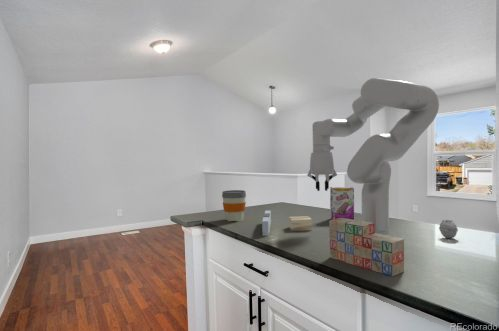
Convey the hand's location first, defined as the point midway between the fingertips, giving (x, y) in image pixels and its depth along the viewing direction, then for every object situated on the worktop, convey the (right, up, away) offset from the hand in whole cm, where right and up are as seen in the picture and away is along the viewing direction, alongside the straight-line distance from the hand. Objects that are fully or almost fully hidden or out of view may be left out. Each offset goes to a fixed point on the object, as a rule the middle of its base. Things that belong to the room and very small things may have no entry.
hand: (322, 190), depth 140 cm
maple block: (-9, -18, +2) cm, 20 cm away
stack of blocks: (+2, -19, -46) cm, 50 cm away
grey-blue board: (-24, -18, +3) cm, 30 cm away
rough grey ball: (+44, -17, -20) cm, 51 cm away
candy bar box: (+14, -17, +19) cm, 29 cm away
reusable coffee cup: (-40, -18, +25) cm, 51 cm away
